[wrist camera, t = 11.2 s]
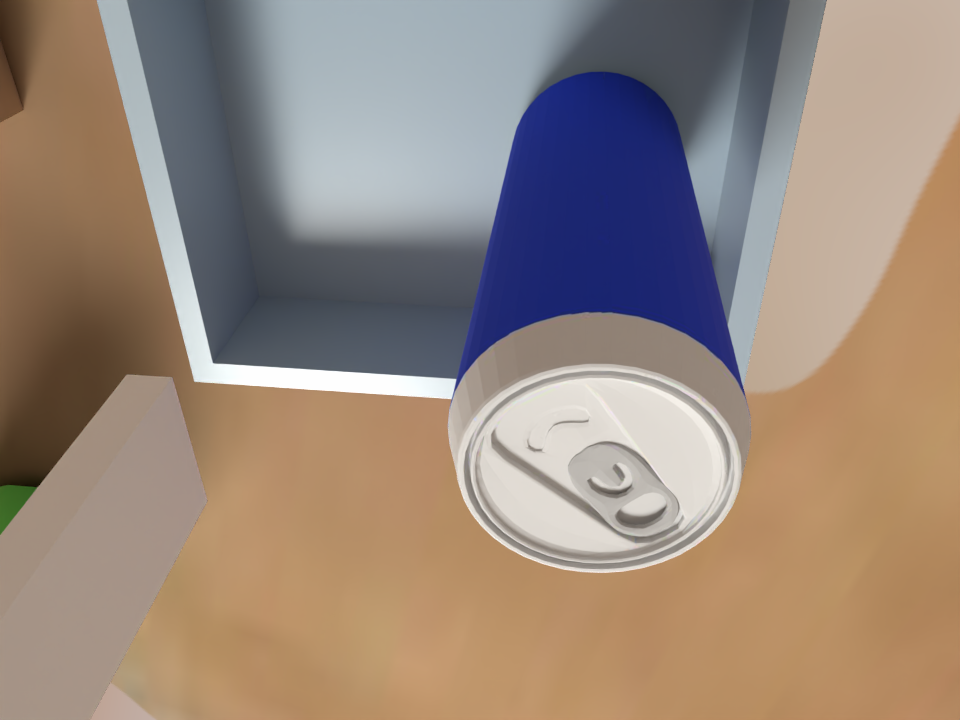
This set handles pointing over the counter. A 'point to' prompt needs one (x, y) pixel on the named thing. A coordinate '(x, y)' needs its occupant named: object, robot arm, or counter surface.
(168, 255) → the box
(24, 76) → the counter surface
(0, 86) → the walnut cube
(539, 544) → the beverage can
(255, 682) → the counter surface
